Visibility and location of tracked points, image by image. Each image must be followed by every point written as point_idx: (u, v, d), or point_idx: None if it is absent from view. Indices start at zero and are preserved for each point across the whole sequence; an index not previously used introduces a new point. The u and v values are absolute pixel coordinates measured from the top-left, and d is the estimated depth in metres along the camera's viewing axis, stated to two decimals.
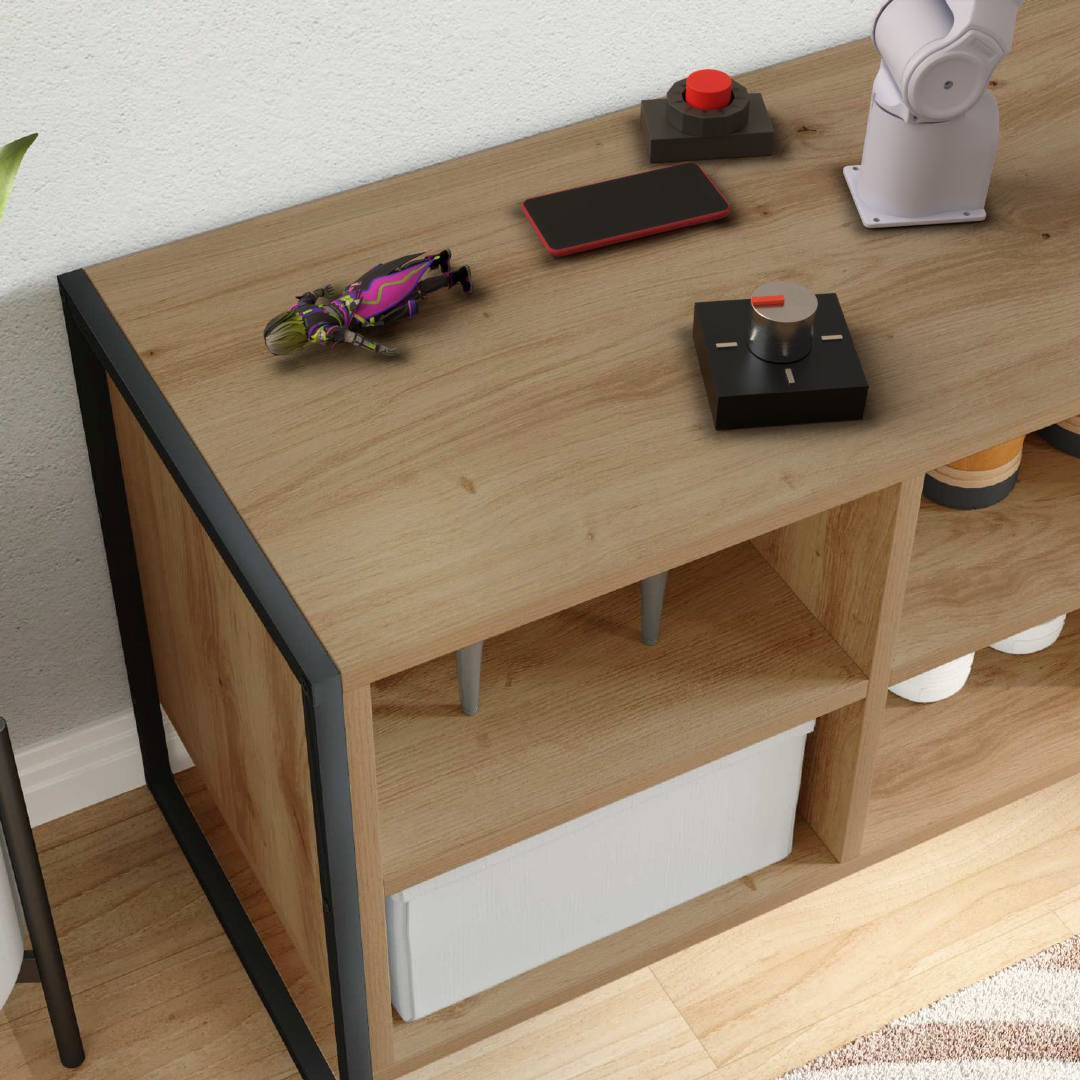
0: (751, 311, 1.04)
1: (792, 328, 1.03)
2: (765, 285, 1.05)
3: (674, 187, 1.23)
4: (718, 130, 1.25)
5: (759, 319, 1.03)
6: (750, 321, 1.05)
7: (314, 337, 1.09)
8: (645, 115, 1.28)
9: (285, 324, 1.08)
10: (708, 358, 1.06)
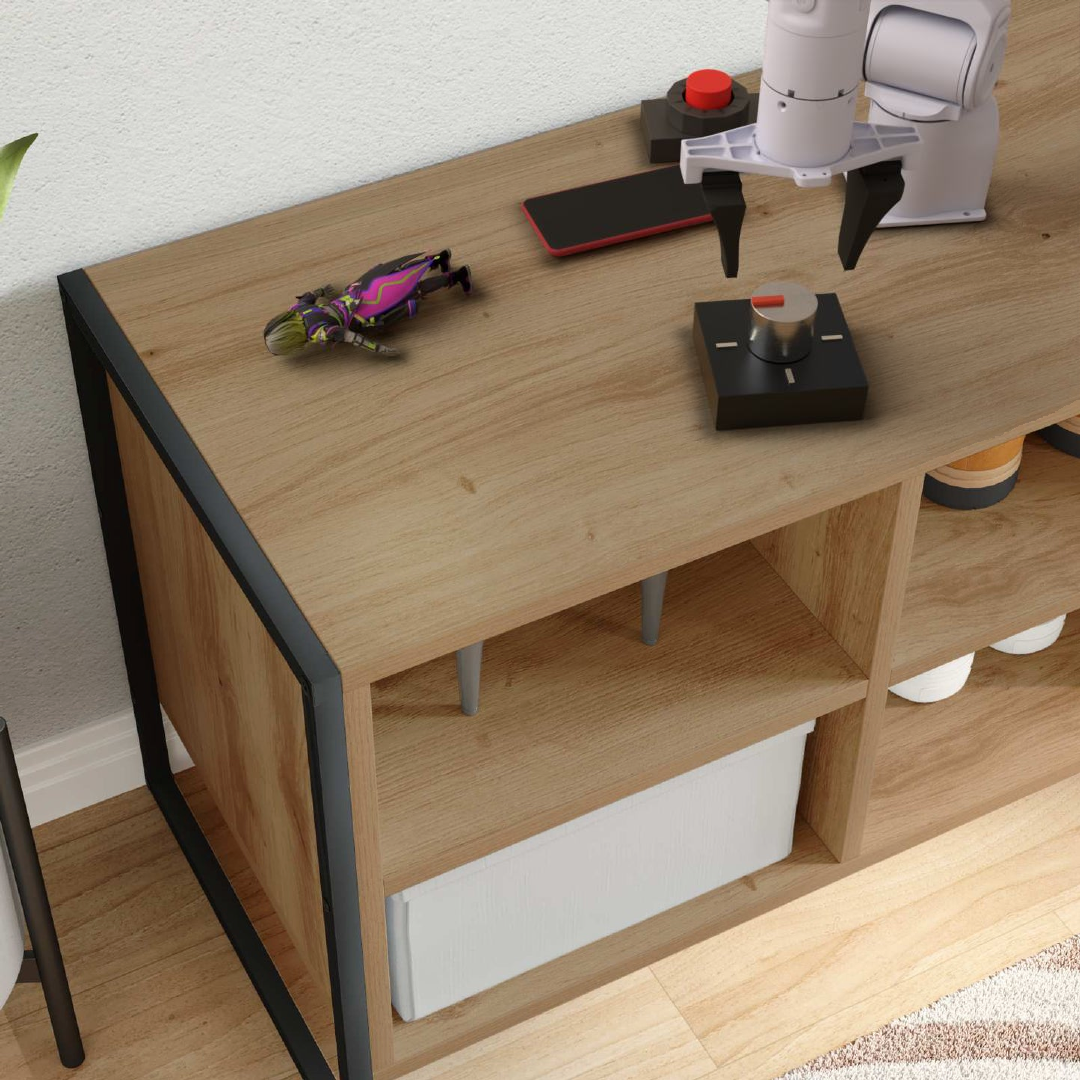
0: (751, 311, 1.04)
1: (792, 328, 1.03)
2: (765, 285, 1.05)
3: (674, 187, 1.23)
4: (718, 130, 1.25)
5: (759, 319, 1.03)
6: (750, 321, 1.05)
7: (314, 337, 1.09)
8: (645, 115, 1.28)
9: (285, 324, 1.08)
10: (708, 358, 1.06)
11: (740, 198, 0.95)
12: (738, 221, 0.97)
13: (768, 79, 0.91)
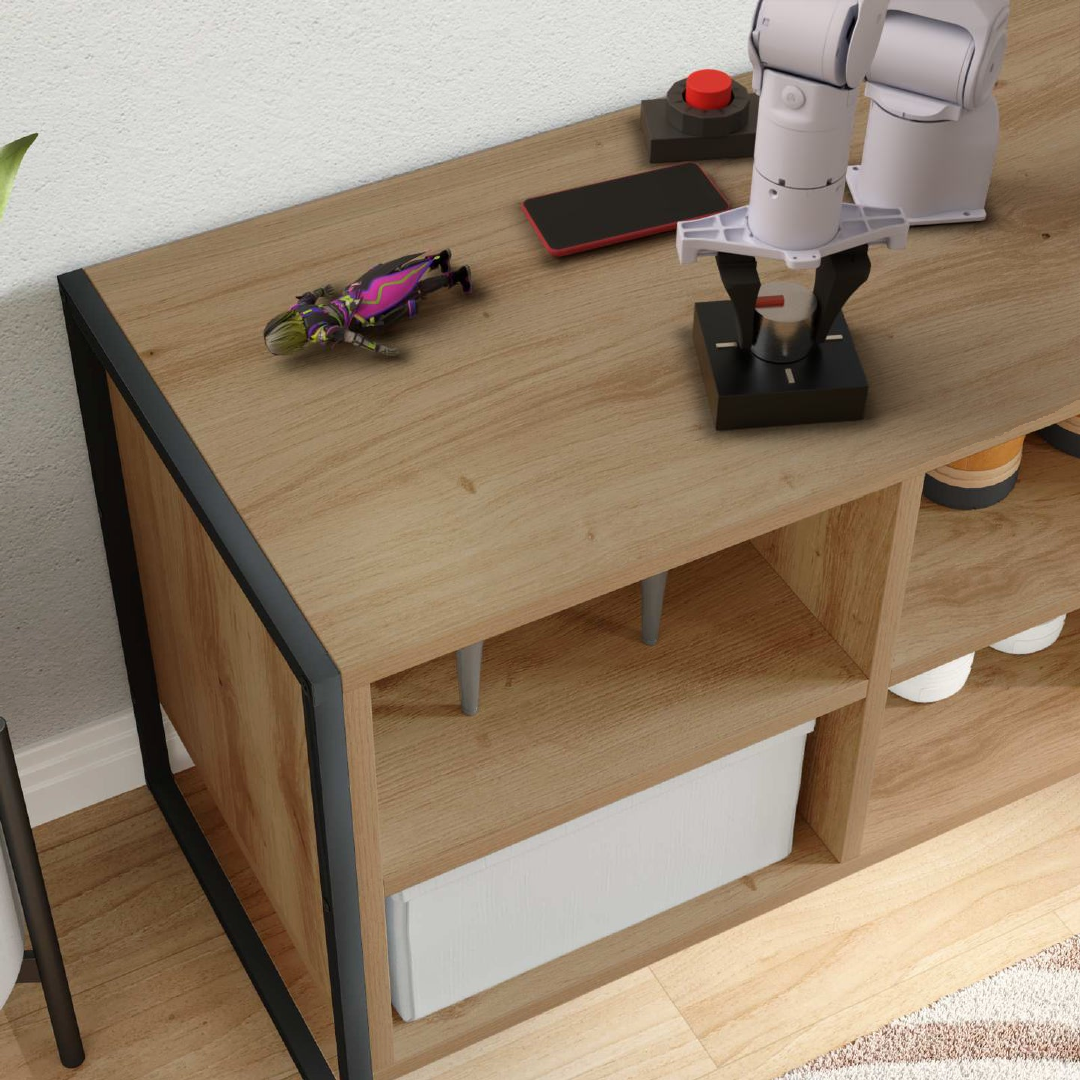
0: None
1: (792, 328, 1.03)
2: (765, 285, 1.05)
3: (674, 187, 1.23)
4: (718, 130, 1.25)
5: (759, 319, 1.03)
6: None
7: (314, 337, 1.09)
8: (645, 115, 1.28)
9: (285, 324, 1.08)
10: (708, 358, 1.06)
11: (755, 276, 1.00)
12: (753, 297, 1.01)
13: (760, 168, 0.95)
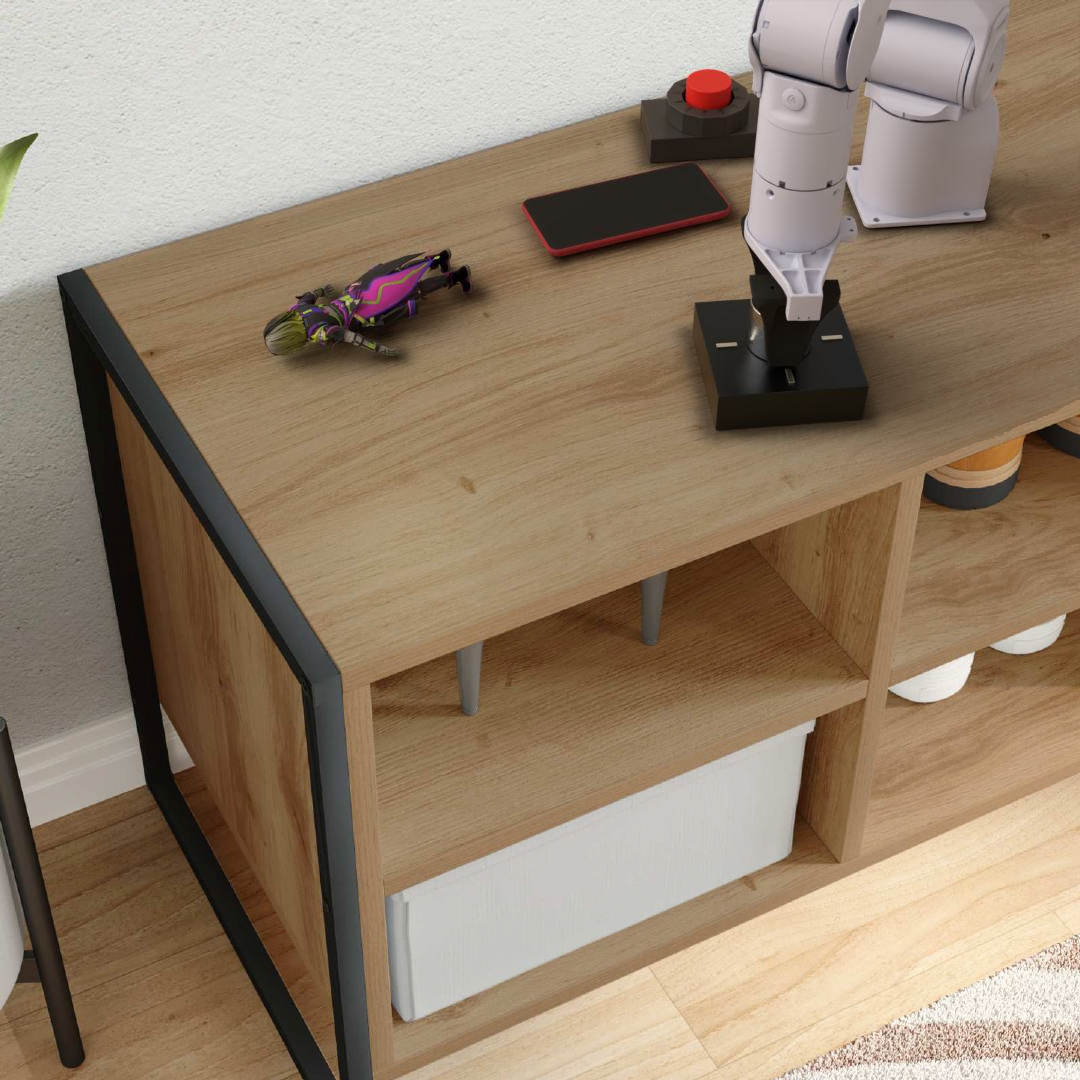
0: None
1: None
2: None
3: (674, 187, 1.23)
4: (718, 130, 1.25)
5: None
6: None
7: (314, 337, 1.09)
8: (645, 115, 1.28)
9: (285, 324, 1.08)
10: (708, 358, 1.06)
11: None
12: None
13: (760, 170, 0.95)
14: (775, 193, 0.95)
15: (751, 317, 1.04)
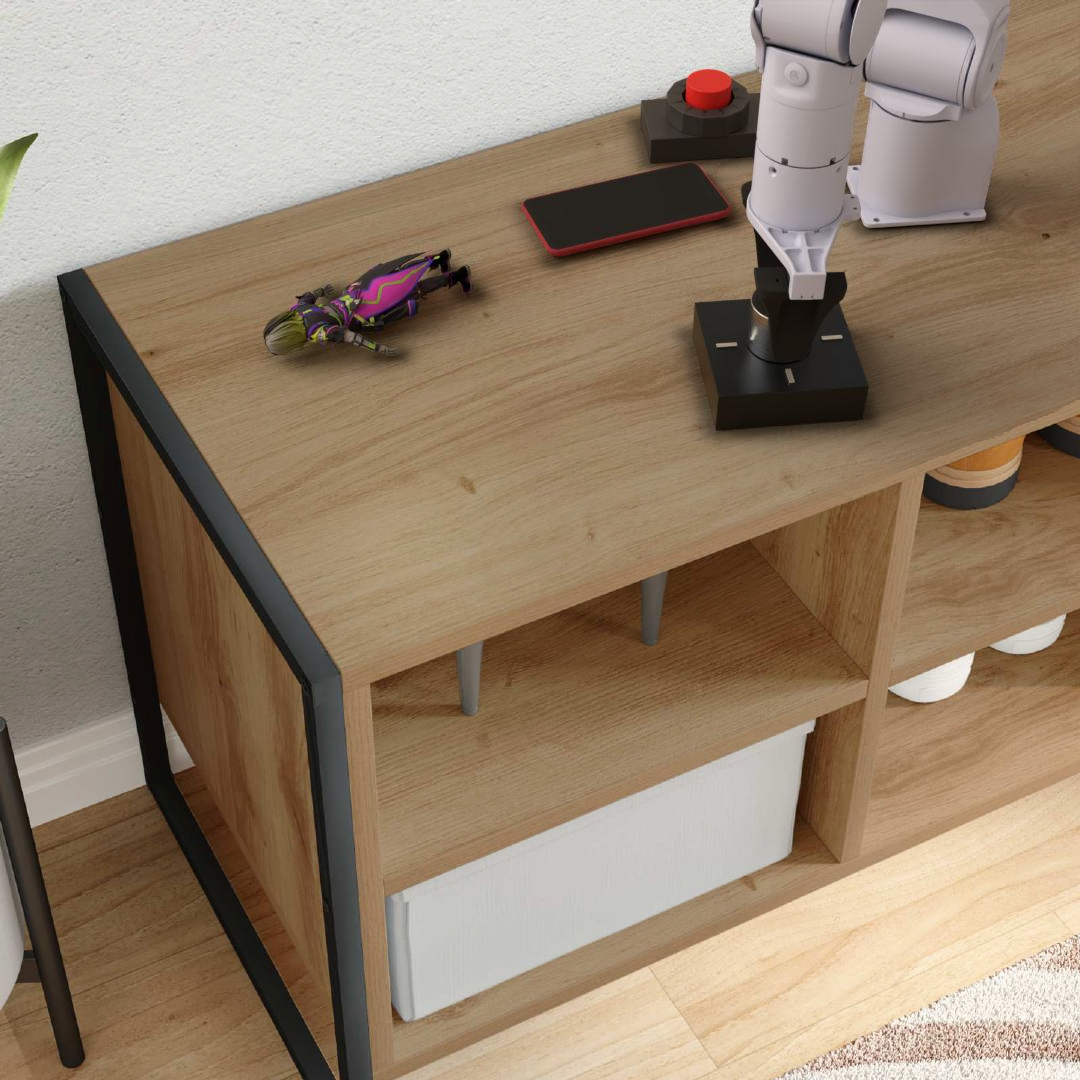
0: None
1: None
2: (758, 309, 1.03)
3: (674, 187, 1.23)
4: (718, 130, 1.25)
5: None
6: None
7: (314, 337, 1.09)
8: (645, 115, 1.28)
9: (285, 324, 1.08)
10: (708, 358, 1.06)
11: (834, 272, 0.97)
12: None
13: (762, 147, 0.94)
14: (778, 170, 0.94)
15: (751, 317, 1.04)
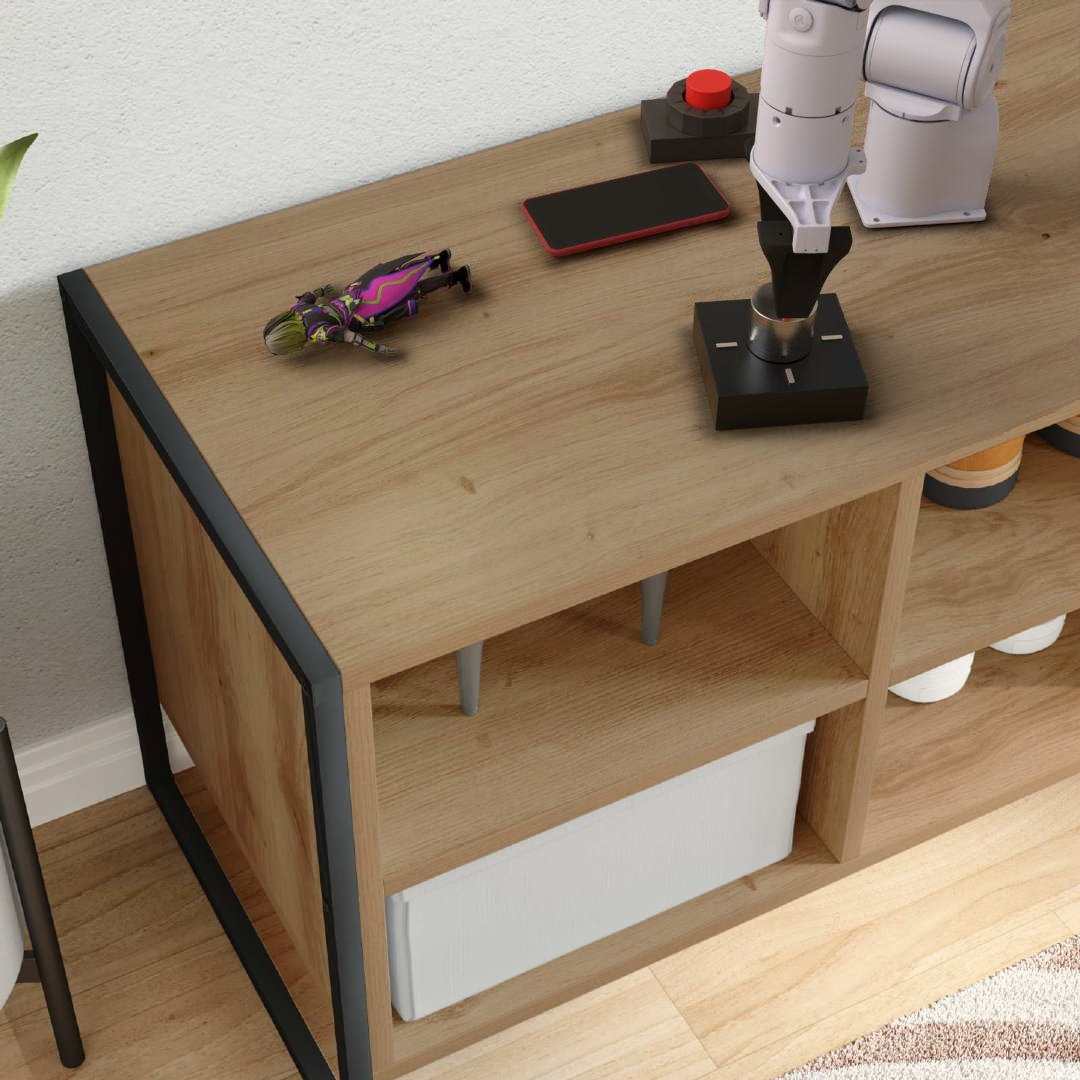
0: (790, 328, 1.03)
1: None
2: (758, 309, 1.03)
3: (674, 187, 1.23)
4: (718, 130, 1.25)
5: (805, 323, 1.03)
6: (788, 338, 1.03)
7: (314, 337, 1.09)
8: (645, 115, 1.28)
9: (285, 324, 1.08)
10: (708, 358, 1.06)
11: (839, 226, 0.95)
12: None
13: (766, 96, 0.92)
14: (782, 120, 0.92)
15: (751, 317, 1.04)
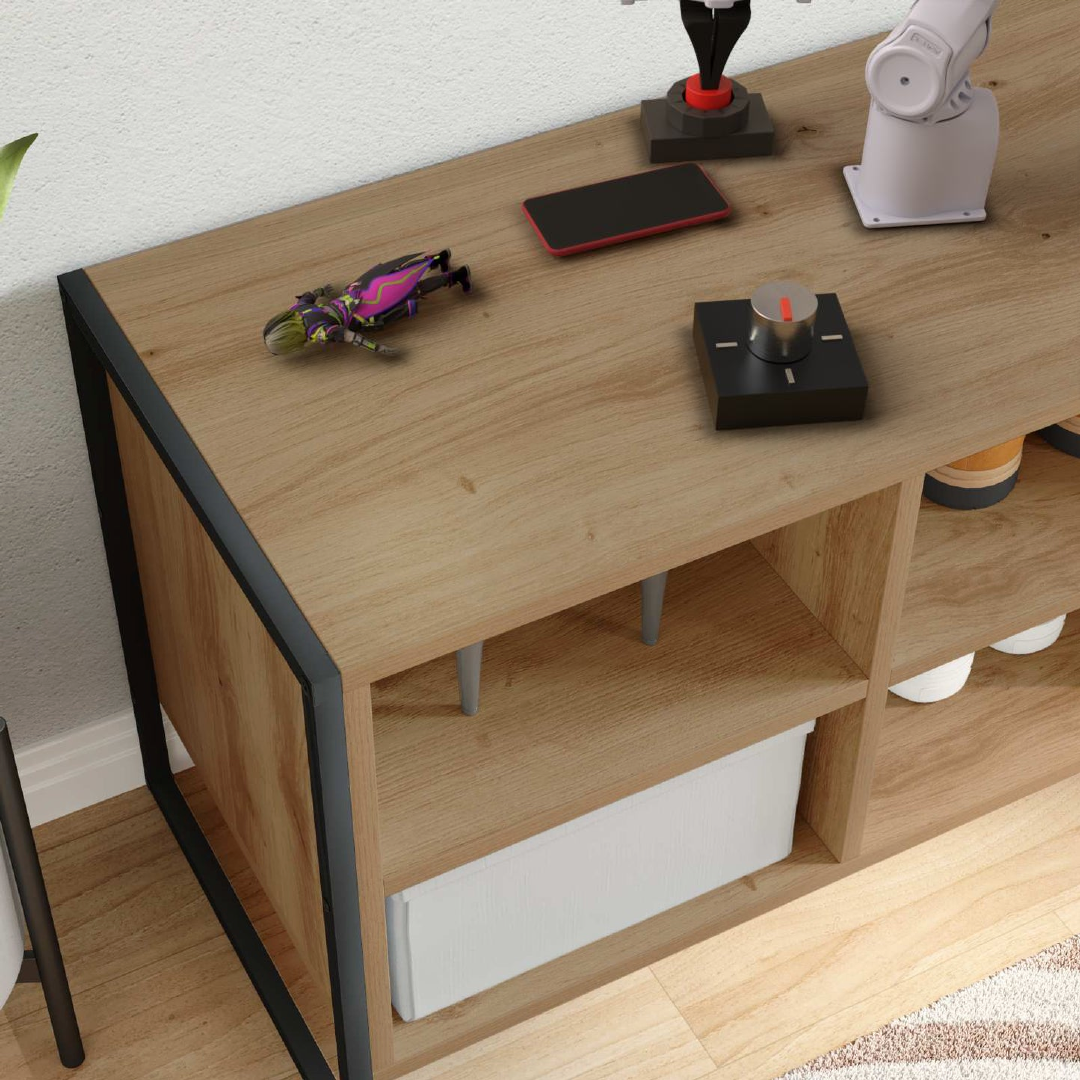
0: (790, 328, 1.03)
1: None
2: (758, 309, 1.03)
3: (674, 187, 1.23)
4: (718, 130, 1.25)
5: (805, 323, 1.03)
6: (788, 338, 1.03)
7: (314, 337, 1.09)
8: (645, 115, 1.28)
9: (285, 324, 1.08)
10: (708, 358, 1.06)
11: (710, 17, 1.19)
12: (708, 37, 1.21)
13: None
14: None
15: (751, 317, 1.04)
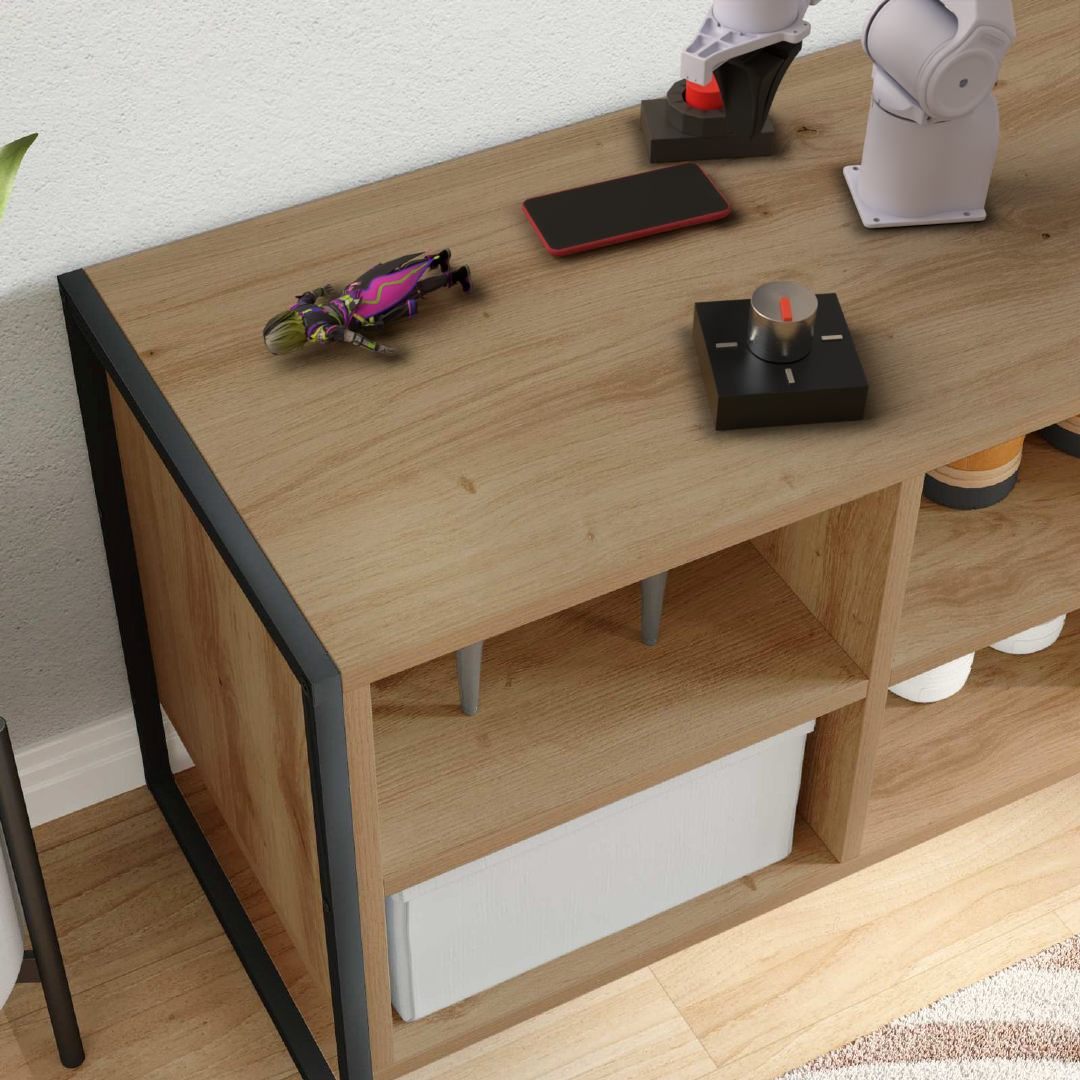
0: (790, 328, 1.03)
1: None
2: (758, 309, 1.03)
3: (674, 187, 1.23)
4: (718, 130, 1.25)
5: (805, 323, 1.03)
6: (788, 338, 1.03)
7: (313, 336, 1.09)
8: (645, 115, 1.28)
9: (284, 323, 1.08)
10: (708, 358, 1.06)
11: (775, 56, 1.07)
12: (771, 79, 1.08)
13: None
14: None
15: (751, 317, 1.04)
